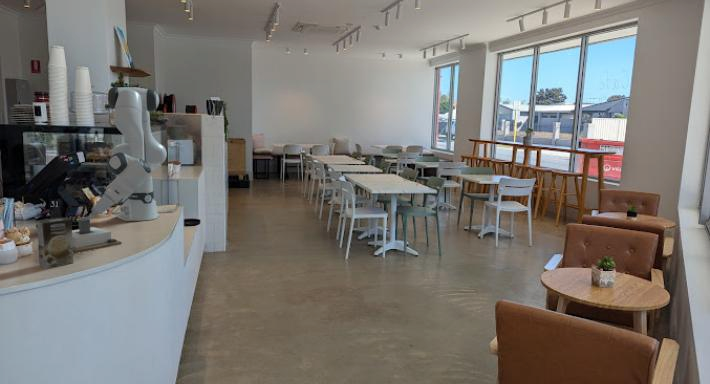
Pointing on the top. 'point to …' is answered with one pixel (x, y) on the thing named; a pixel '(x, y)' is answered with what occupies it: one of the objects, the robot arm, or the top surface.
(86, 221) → the plug
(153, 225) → the top surface
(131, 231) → the top surface
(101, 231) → the socket housing
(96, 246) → the socket board
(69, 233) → the coffee box
